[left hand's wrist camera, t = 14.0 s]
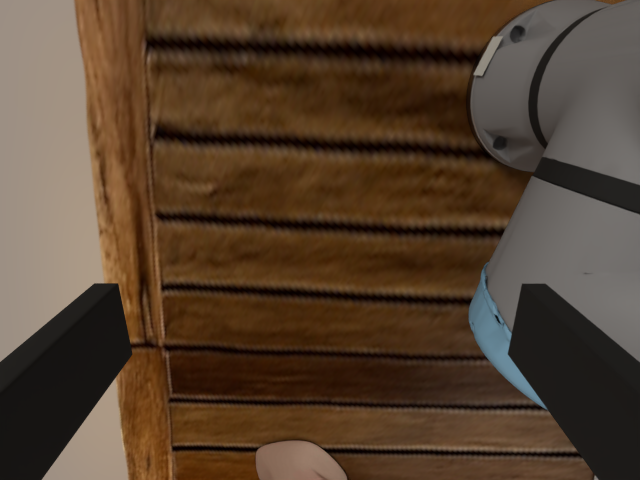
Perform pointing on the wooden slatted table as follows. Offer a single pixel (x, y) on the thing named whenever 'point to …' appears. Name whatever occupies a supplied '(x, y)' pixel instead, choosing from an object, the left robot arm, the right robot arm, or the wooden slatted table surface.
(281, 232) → the wooden slatted table surface
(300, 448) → the anatomical model
